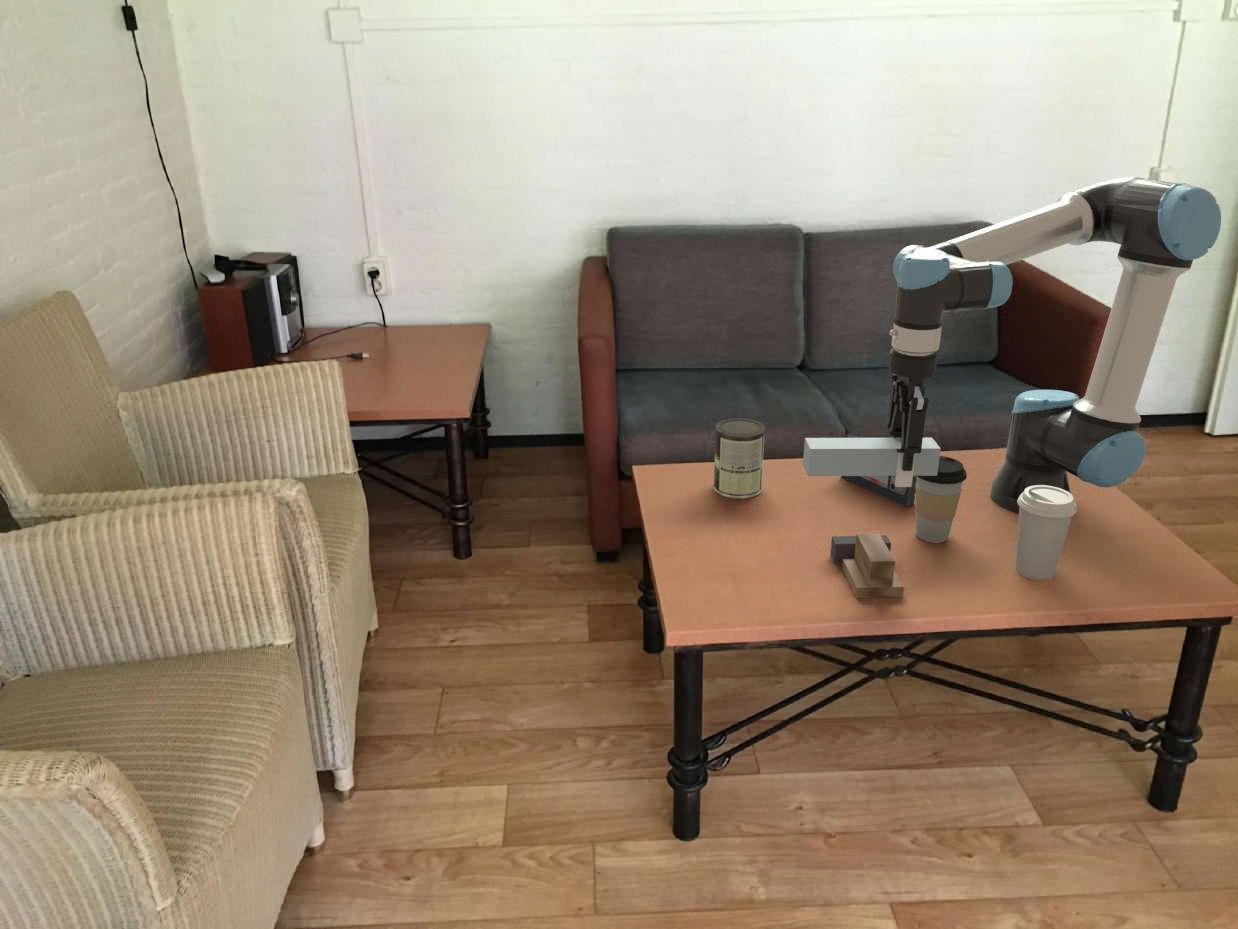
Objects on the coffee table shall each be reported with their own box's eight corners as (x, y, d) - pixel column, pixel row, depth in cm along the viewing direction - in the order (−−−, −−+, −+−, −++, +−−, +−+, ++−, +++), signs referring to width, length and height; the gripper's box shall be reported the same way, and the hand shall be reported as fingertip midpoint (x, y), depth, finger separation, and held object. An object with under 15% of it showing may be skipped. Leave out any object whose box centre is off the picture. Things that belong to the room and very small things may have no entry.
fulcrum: (886, 568, 175) (890, 533, 173) (902, 597, 166) (907, 560, 163) (842, 569, 175) (845, 534, 172) (855, 598, 166) (859, 561, 163)
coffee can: (703, 485, 209) (705, 424, 203) (741, 475, 214) (744, 414, 208) (733, 503, 201) (735, 439, 195) (772, 492, 206) (775, 429, 200)
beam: (928, 464, 171) (931, 437, 169) (937, 475, 167) (940, 448, 165) (802, 464, 171) (805, 437, 169) (808, 476, 167) (810, 448, 165)
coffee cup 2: (997, 558, 178) (1009, 483, 172) (1048, 557, 179) (1062, 482, 173) (1020, 585, 169) (1034, 507, 163) (1074, 583, 170) (1089, 505, 164)
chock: (884, 554, 180) (886, 535, 178) (888, 562, 177) (891, 543, 176) (830, 555, 180) (832, 536, 178) (834, 563, 177) (835, 544, 175)
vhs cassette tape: (839, 477, 212) (843, 435, 208) (849, 474, 214) (853, 432, 210) (904, 508, 198) (910, 463, 194) (914, 504, 199) (920, 459, 196)
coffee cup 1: (960, 530, 189) (971, 458, 183) (954, 551, 181) (964, 477, 175) (910, 521, 192) (919, 450, 186) (901, 541, 185) (910, 468, 179)
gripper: (877, 334, 169) (864, 459, 178) (906, 366, 152) (890, 501, 161) (921, 334, 169) (906, 458, 178) (954, 366, 152) (935, 501, 161)
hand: (898, 478), depth 170 cm, fingers closed on beam, 5 cm apart
